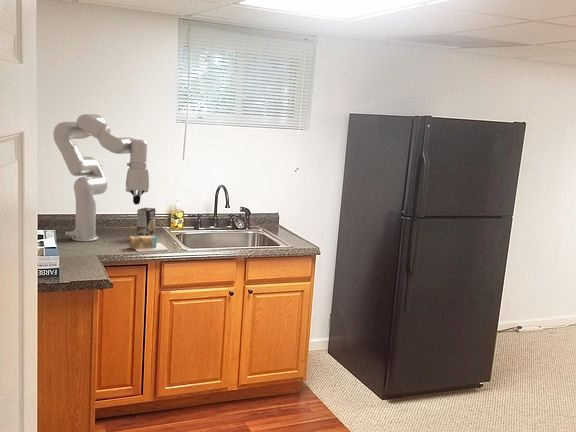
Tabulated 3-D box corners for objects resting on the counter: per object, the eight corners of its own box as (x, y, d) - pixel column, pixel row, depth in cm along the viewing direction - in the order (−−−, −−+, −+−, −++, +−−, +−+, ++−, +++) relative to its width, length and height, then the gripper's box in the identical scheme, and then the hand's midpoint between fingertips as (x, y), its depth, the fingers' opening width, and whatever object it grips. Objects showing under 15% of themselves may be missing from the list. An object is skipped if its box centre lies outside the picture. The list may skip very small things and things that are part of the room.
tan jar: (131, 238, 281) (156, 237, 286) (129, 236, 285) (153, 235, 291) (131, 248, 281) (156, 247, 287) (129, 246, 286) (153, 245, 292)
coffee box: (147, 241, 301) (148, 210, 298) (135, 240, 302) (136, 209, 300) (155, 238, 310) (156, 208, 307) (143, 237, 311) (144, 207, 308)
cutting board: (137, 252, 278) (137, 250, 278) (130, 245, 290) (130, 244, 290) (168, 250, 286) (168, 249, 286) (159, 244, 298) (159, 242, 298)
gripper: (124, 166, 271) (122, 205, 274) (155, 167, 278) (154, 205, 282) (120, 164, 278) (118, 202, 281) (151, 165, 285) (149, 202, 288)
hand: (136, 203), depth 281 cm, fingers closed
